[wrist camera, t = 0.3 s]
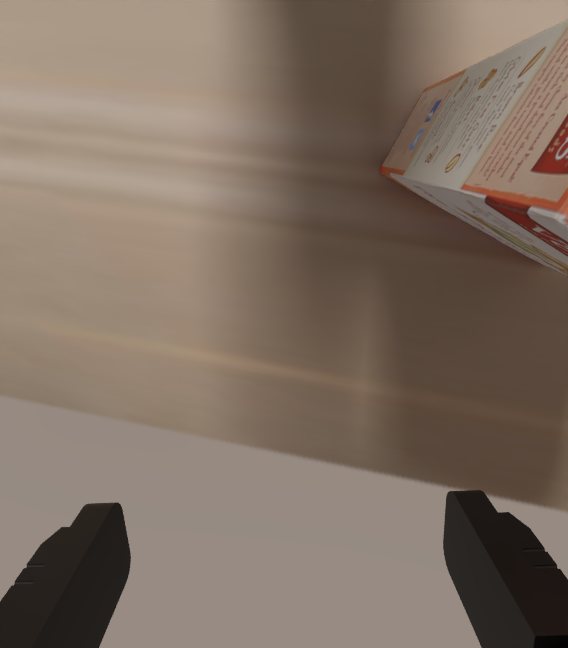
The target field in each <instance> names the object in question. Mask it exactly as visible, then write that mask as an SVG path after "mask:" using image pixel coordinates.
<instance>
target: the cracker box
mask: <svg viewBox="0 0 568 648" xmlns="http://www.w3.org/2000/svg"><path fill="white" fill-rule="evenodd" d="M379 173H381V174H382V175H384V176H386V177H388V178H390V179H391V180H393V181H395V182H397V183H398V184H400V185H402V186H404V187H405V188H407V189H409V190H410V191H412V192H414V193H415V194H417V195H419V196H420V197H422V198H424V199H425V200H427V201H429V202H431V203H432V204H434V205H436V206H438V207H439V208H441V209H443V210H445V211H446V212H448V213H450V214H452V215H453V216H455V217H457V218H459V219H460V220H462V221H464V222H466V223H467V224H469V225H471V226H473V227H475V228H476V229H478V230H480V231H482V232H483V233H485V234H487V235H489V236H491V237H492V238H494V239H496V240H498V241H499V242H501V243H503V244H505V245H506V246H508V247H510V248H512V249H514V250H516V251H517V252H519V253H521V254H523V255H525V256H527V257H529V258H531V259H533V260H535V261H537V262H539V263H541V264H543V265H545V266H547V267H549V268H551V269H553V270H555V271H557V272H559V273H561V274H563V275H565V276H567V277H568V19H567V20H565V21H563V22H561V23H559V24H557V25H555V26H552V27H550V28H548V29H546V30H544V31H542V32H540V33H538V34H536V35H534V36H532V37H530V38H528V39H526V40H524V41H522V42H520V43H518V44H516V45H514V46H512V47H510V48H508V49H506V50H503V51H501V52H499V53H497V54H495V55H493V56H491V57H489V58H487V59H485V60H483V61H481V62H479V63H477V64H475V65H473V66H471V67H469V68H467V69H465V70H463V71H461V72H459V73H456V74H454V75H452V76H450V77H448V78H446V79H444V80H442V81H440V82H438V83H436V84H434V85H432V86H430V87H428V88H426V89H425V90H424V92H423V93H422V95H421V97H420V98H419V100H418V102H417V104H416V105H415V107H414V109H413V111H412V113H411V115H410V116H409V118H408V120H407V122H406V124H405V125H404V127H403V129H402V131H401V133H400V134H399V136H398V138H397V140H396V141H395V143H394V145H393V147H392V148H391V150H390V152H389V154H388V156H387V157H386V159H385V161H384V163H383V164H382V166H381V168H380V169H379Z"/></svg>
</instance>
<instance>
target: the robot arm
mask: <svg viewBox="0 0 568 648" xmlns="http://www.w3.org/2000/svg"><path fill="white" fill-rule="evenodd" d="M443 548H444V556H445V560H446V565H447V568H448V571H449V573H450V576H451V578H452V580H453V583H454V585H455V587H456V590H457V592H458V594H459V597H460V599H461V601H462V603H463V606H464V608H465V610H466V613H467V615H468V617H469V619H470V622H471V624H472V626H473V628H474V631H475V633H476V635H477V638H478V640H479V642H480V645H481V647H482V648H568V579H567V578H566V577H565V575H564V574H563V572H562V571H561V570H560V569H558V568H557V564H556V563H555V562H554V561H553V559H552V558H551V556H550V555H549V554H548V552H545V550H544V547H543V545H542V544H541V543H540V541H539V540H538V539H537V537H536V536H535V535H534V533H533V532H532V531H531V529H530V528H529V527H527V526H526V525H525V524H523V523H522V522H521V521H519V520H518V519H517V518H516V517H514V516H513V515H512V514H510V513H509V512H506V513H505V512H504V513H498V512H497V511H496V509H495V508H494V506H493V505H492V504H491V502H490V501H489V499H488V498H487V496H486V495H485V493H484V492H483V491H481V490H472V491H449V492H448V494H447V497H446V510H445V525H444V540H443ZM130 559H131V556H130V548H129V543H128V537H127V532H126V526H125V521H124V516H123V510H122V507H121V505H120V504H119V503H95V504H86V505H85V506H84V507H83V508H82V510H81V511H80V513H79V514H78V516H77V517H76V519H75V520H74V522H73V523H72V525H71V526H70V527H61V528H60V529H59V530H58V531H57V532H55V533H54V534H53V535H52V536H51V537H50V538H48V539H47V540H46V541H45V542H43V543H42V544H41V545H40V547H39V548H38V550H37V551H36V552H35V554H34V555H33V557H32V558H31V559H30V561H29V562H28V563H27V568H24V569H23V570H22V572H21V573H20V575H19V576H18V577H17V579H16V581H15V584H14V586H11V588H10V589H9V590H8V592H7V593H6V594H5V596H4V597H3V598H2V600H1V601H0V648H99V646H100V643H101V641H102V639H103V636H104V634H105V632H106V629H107V627H108V625H109V622H110V619H111V617H112V615H113V613H114V610H115V608H116V605H117V603H118V601H119V598H120V596H121V594H122V591H123V589H124V586H125V584H126V581H127V578H128V575H129V570H130V561H131V560H130Z"/></svg>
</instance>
